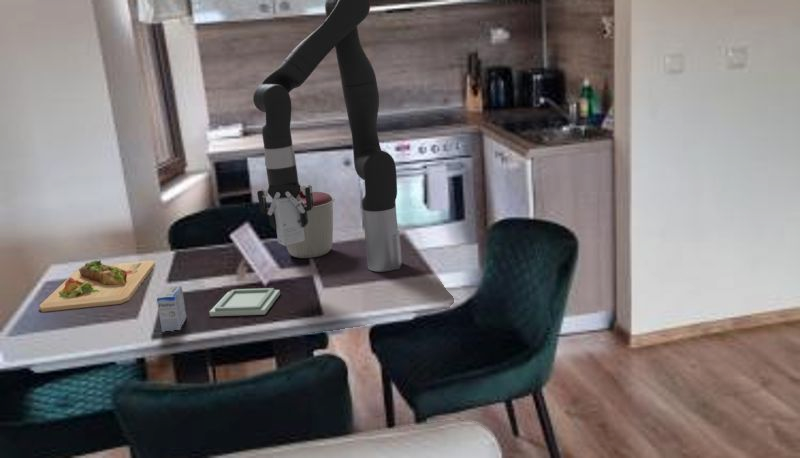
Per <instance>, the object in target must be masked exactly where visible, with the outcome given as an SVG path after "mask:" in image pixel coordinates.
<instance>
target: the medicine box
mask: <svg viewBox="0 0 800 458" xmlns="http://www.w3.org/2000/svg"><path fill="white" fill-rule="evenodd" d="M183 291H184V290H183V287H182V286H179V285H177V286H176V285H175V286H164V287H163V289H162V290H161V292H160V294H159V295H158V297H157V298H156V303H157V309H158V315H159V321H160V326H161V331H162V333H166V332H165V331H171V332H175V331H174V330H179V331H181V330H182V328H181V327H183V326H184V323H185V321H186V319H187V313H186V305H185V298H184V293H183ZM182 325H183V326H182ZM180 329H181V330H180Z"/></svg>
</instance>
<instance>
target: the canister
mask: <svg viewBox="0 0 800 458" xmlns="http://www.w3.org/2000/svg"><path fill="white" fill-rule="evenodd" d="M300 186H301V187H307V186H308V185H300ZM312 194H313V204H314V207H313V208H312V209H311V210H309V211H307V215H308V224H307V225H306V227H303V228H304V236H305V241H302V242H298V243H294V244H289V245H286V249H287V252H288V254H289V255H290V256H292V257H294V258H298V259H314V258H317V257H321V256H322V257H323V256H324V255H326V254H329V252H330V251H331V249H332V247H333V237H334V236H333V234H334V227H333V226H334V202H335V200H336V199H335V197H334V196H333V195H330V194H329V193H326V192H322V191H321V192H320V191H312ZM299 196H300V198H301V200H302V202H303V203H304V205H305V206H307V204H306V195H304V194H303V192H302V191H301V192H300V193H299Z"/></svg>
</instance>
